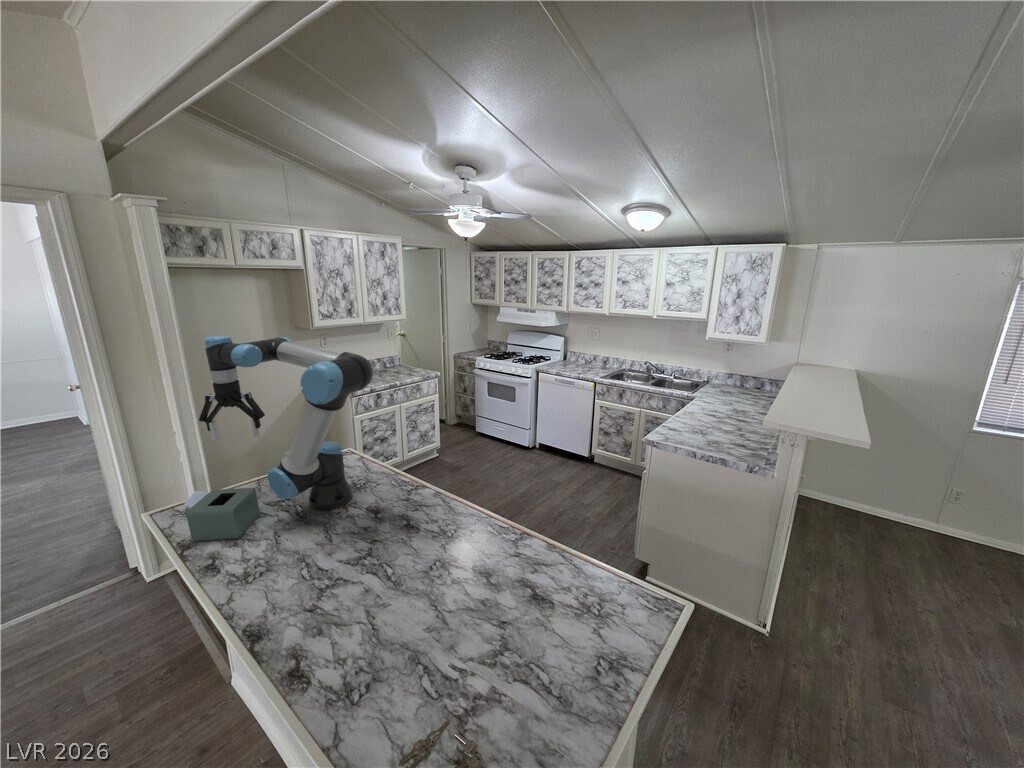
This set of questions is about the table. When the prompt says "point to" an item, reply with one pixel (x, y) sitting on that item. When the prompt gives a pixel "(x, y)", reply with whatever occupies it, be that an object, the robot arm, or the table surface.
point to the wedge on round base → (195, 498)
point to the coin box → (223, 515)
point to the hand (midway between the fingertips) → (236, 437)
